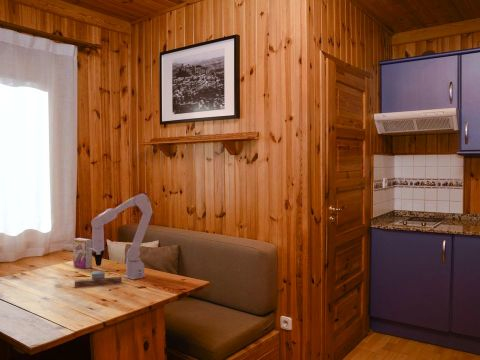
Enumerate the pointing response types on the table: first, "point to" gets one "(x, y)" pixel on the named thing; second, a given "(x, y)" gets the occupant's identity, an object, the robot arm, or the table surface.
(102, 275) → the slate block
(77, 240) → the candy bar box
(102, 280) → the walnut batten
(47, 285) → the table surface
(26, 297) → the table surface
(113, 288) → the table surface
